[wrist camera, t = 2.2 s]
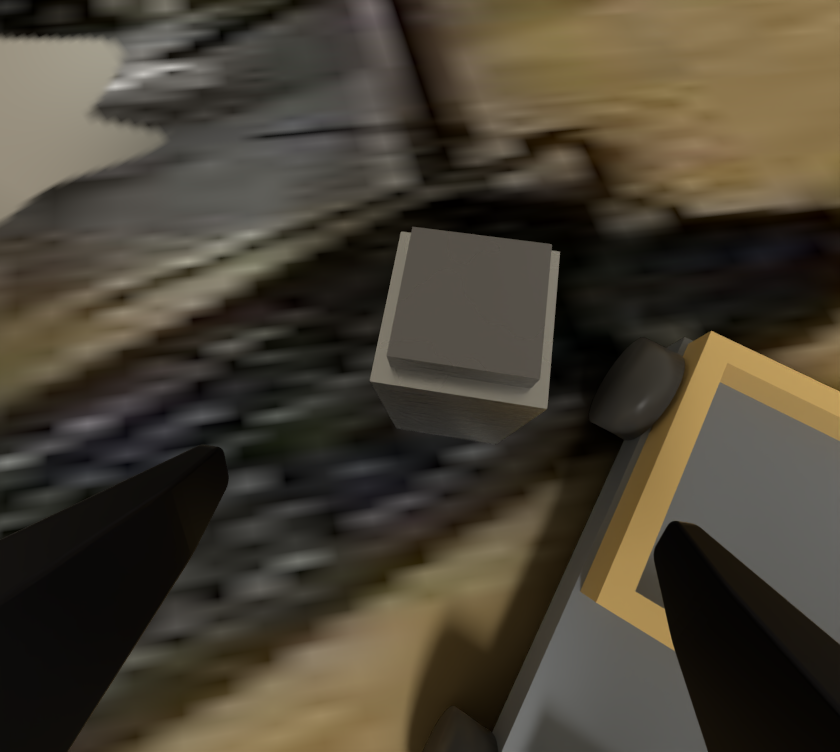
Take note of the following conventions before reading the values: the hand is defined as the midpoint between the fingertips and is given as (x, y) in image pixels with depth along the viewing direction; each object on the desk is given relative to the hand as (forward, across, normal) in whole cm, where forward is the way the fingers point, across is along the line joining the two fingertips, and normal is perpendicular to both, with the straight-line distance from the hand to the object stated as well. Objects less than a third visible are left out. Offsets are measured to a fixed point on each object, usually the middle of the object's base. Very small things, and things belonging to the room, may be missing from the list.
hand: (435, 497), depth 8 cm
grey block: (+12, 0, +4) cm, 13 cm away
